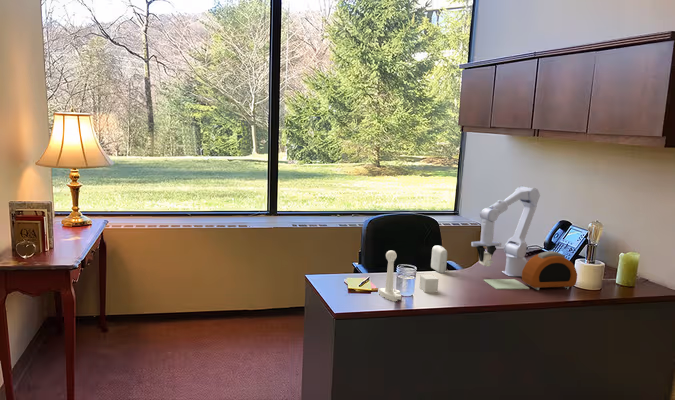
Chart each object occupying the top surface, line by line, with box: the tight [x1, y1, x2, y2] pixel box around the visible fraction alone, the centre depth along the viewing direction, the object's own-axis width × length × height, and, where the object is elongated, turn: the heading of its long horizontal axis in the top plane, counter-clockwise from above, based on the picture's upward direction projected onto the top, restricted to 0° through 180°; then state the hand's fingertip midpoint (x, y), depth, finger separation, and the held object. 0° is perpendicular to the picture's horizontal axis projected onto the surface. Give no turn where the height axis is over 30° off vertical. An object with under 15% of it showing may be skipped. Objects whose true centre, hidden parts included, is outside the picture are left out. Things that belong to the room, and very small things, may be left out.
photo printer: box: [430, 245, 448, 274], centre depth 259 cm, size 10×4×12 cm, turn 17°
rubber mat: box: [483, 278, 530, 290], centre depth 241 cm, size 16×13×1 cm
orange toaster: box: [521, 250, 578, 291], centre depth 240 cm, size 23×9×17 cm, turn 103°
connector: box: [478, 250, 494, 267], centre depth 248 cm, size 3×11×6 cm, turn 10°
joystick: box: [378, 250, 402, 302], centre depth 216 cm, size 11×8×20 cm
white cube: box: [419, 274, 439, 293], centre depth 228 cm, size 6×6×6 cm
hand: (484, 261), depth 250 cm, fingers closed on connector, 3 cm apart
